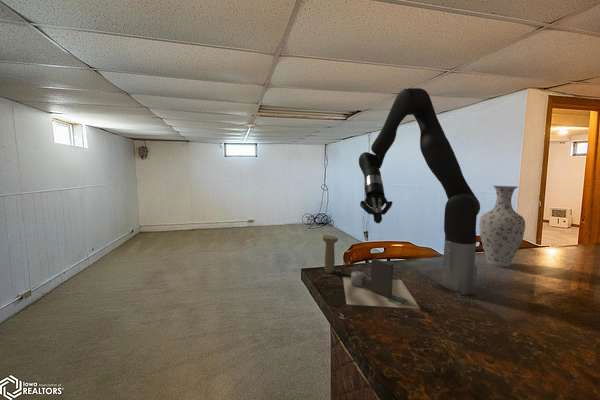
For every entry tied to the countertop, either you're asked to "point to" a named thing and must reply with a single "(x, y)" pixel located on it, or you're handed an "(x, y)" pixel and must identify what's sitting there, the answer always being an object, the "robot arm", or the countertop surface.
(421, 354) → the countertop surface
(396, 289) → the board
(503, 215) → the vase
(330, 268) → the beige pillar
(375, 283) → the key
